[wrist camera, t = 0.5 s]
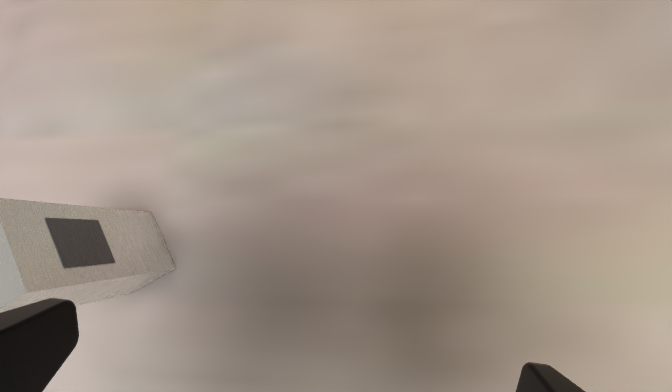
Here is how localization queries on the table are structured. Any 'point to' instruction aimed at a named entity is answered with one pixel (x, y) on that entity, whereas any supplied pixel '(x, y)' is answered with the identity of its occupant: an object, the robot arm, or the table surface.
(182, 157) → the table surface
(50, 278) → the block
